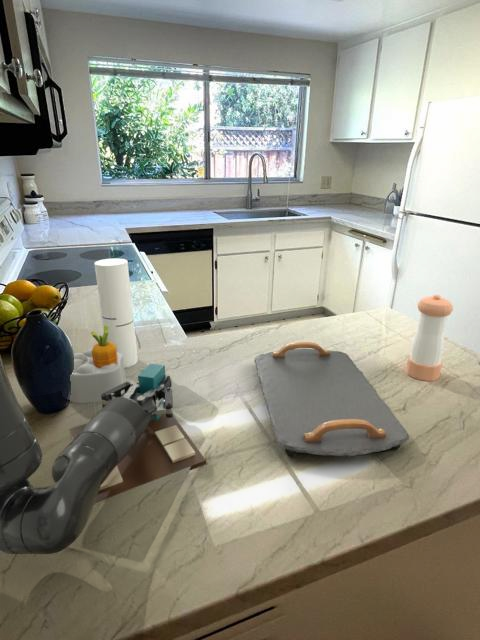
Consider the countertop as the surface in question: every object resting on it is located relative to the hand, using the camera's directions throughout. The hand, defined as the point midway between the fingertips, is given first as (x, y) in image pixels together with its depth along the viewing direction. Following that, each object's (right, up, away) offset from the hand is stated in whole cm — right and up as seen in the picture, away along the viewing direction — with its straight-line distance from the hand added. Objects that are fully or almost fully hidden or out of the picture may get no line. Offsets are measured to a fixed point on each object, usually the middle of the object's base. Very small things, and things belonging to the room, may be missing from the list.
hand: (159, 378), depth 77 cm
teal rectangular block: (-1, -6, 0) cm, 6 cm away
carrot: (-12, -4, +9) cm, 16 cm away
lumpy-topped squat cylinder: (-16, -4, +9) cm, 19 cm away
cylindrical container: (-13, +1, +22) cm, 26 cm away
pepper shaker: (+58, -1, +17) cm, 61 cm away
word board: (-3, -11, -7) cm, 13 cm away
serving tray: (+32, -6, +6) cm, 33 cm away
